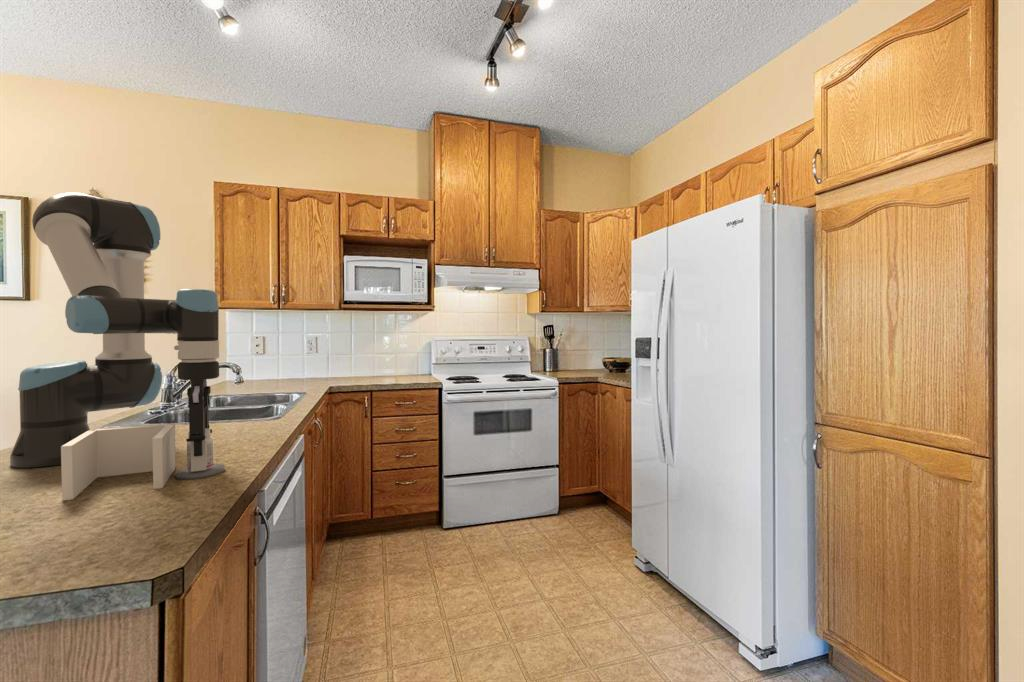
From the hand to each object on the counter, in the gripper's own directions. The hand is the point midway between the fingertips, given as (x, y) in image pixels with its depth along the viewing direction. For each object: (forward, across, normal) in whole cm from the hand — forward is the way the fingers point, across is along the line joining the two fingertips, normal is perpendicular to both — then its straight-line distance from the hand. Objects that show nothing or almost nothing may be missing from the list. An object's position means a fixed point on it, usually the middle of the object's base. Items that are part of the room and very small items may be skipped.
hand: (200, 466), depth 103 cm
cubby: (+1, 0, -13) cm, 13 cm away
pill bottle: (+1, 0, 0) cm, 1 cm away
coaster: (+1, 0, 0) cm, 1 cm away
